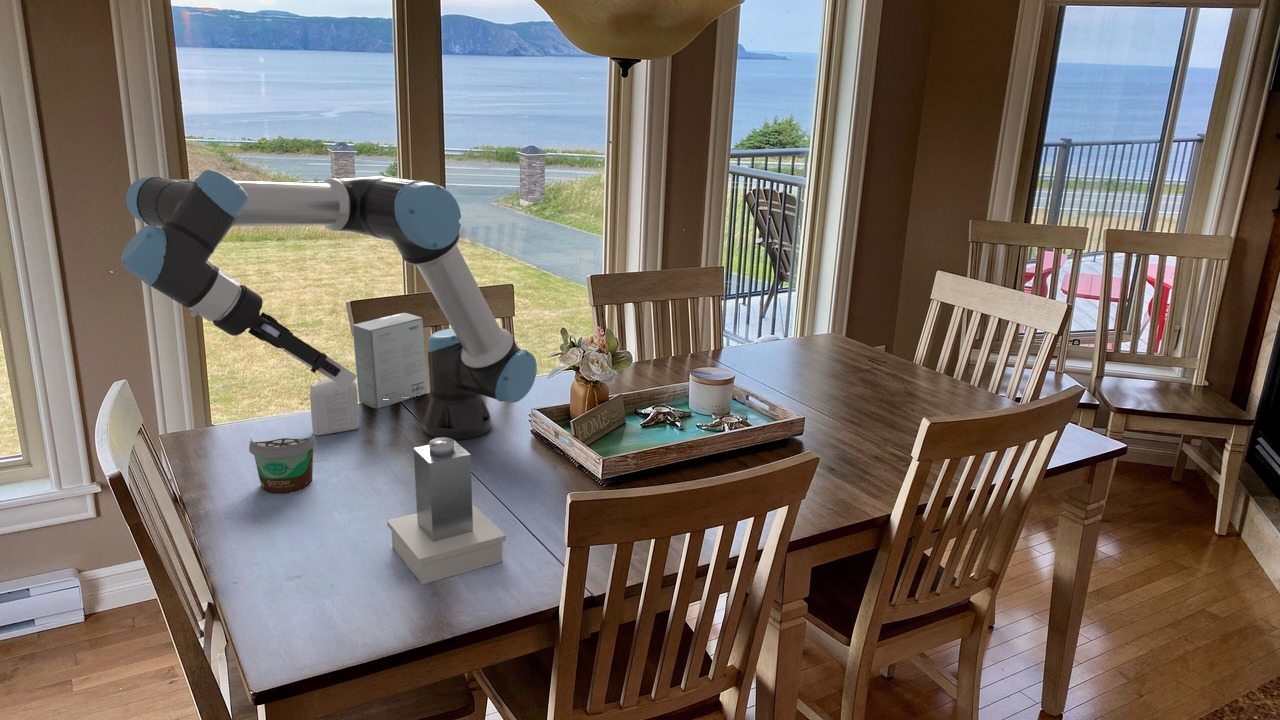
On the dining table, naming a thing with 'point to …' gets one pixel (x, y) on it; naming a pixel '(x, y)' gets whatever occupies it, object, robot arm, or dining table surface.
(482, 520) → the plinth
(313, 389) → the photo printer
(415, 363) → the hard drive box
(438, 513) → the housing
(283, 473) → the food container
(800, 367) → the dining table surface
